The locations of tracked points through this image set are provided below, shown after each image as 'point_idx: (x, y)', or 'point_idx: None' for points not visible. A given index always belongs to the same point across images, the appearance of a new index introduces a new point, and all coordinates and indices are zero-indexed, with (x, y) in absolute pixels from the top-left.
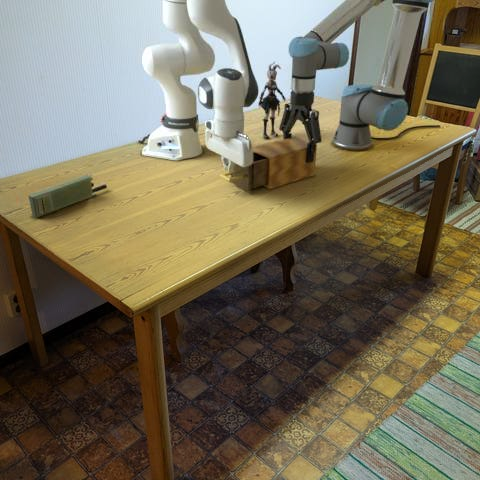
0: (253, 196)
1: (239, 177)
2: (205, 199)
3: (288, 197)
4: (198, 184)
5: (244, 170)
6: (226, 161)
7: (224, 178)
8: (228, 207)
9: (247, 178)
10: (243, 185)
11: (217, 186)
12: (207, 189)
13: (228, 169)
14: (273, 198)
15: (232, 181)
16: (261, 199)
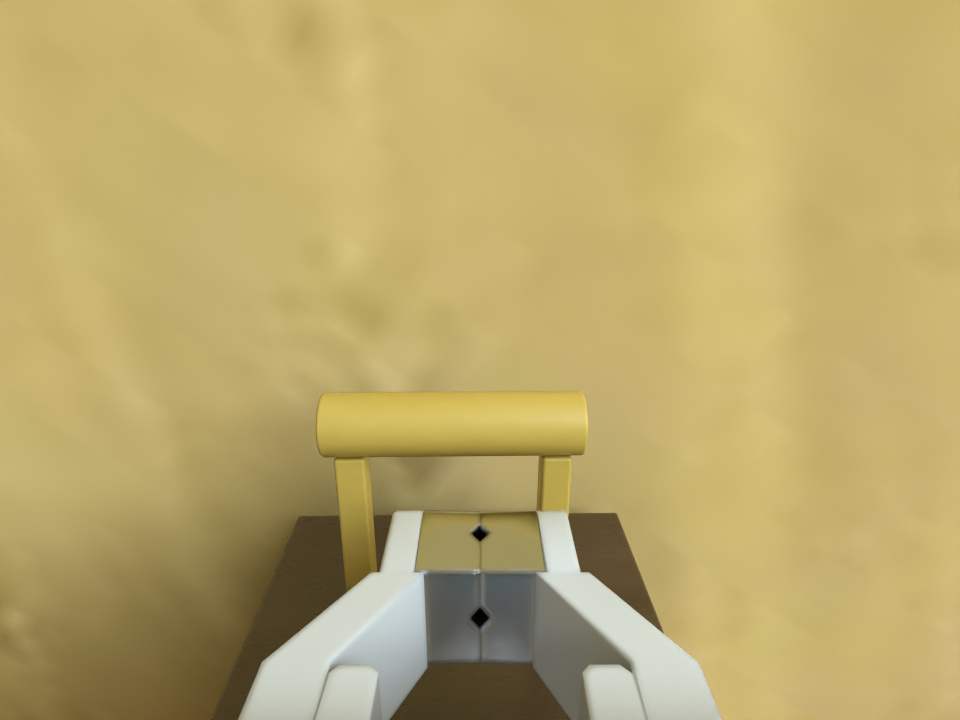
0: (248, 512)
1: (347, 571)
2: (457, 29)
3: (90, 709)
4: (875, 222)
5: None
6: (575, 672)
7: (444, 394)
8: (107, 141)
9: (273, 629)
10: (380, 542)
11: (673, 368)
12: (685, 230)
13: (404, 538)
14: (124, 617)
15: (587, 524)
16: (150, 530)
